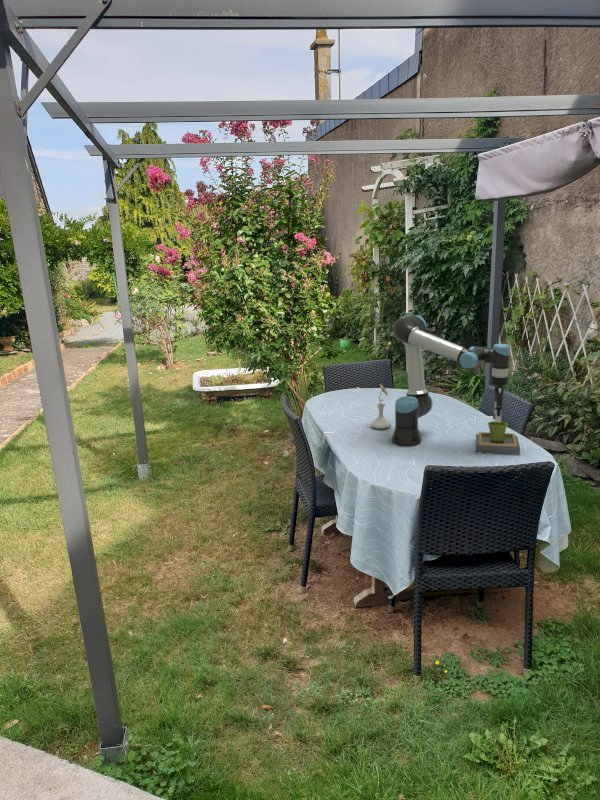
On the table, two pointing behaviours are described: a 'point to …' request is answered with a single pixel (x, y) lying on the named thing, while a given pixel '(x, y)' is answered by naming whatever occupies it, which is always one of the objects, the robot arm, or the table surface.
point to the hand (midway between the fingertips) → (497, 418)
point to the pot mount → (497, 444)
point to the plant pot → (497, 430)
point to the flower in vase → (381, 414)
